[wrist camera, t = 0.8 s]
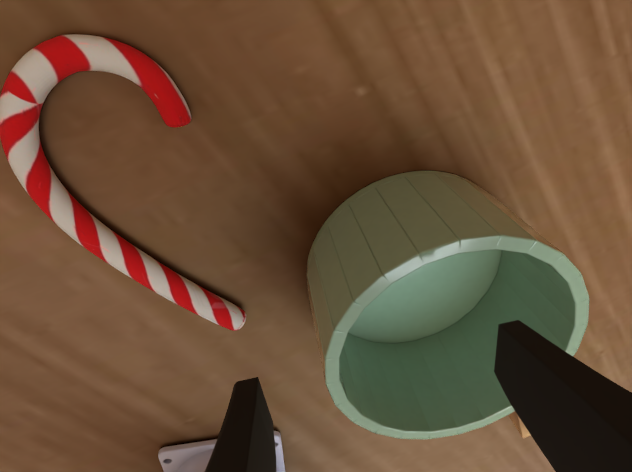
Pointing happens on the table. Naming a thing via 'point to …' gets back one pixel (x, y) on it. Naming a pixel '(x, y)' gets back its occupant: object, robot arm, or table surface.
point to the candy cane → (48, 192)
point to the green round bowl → (431, 302)
